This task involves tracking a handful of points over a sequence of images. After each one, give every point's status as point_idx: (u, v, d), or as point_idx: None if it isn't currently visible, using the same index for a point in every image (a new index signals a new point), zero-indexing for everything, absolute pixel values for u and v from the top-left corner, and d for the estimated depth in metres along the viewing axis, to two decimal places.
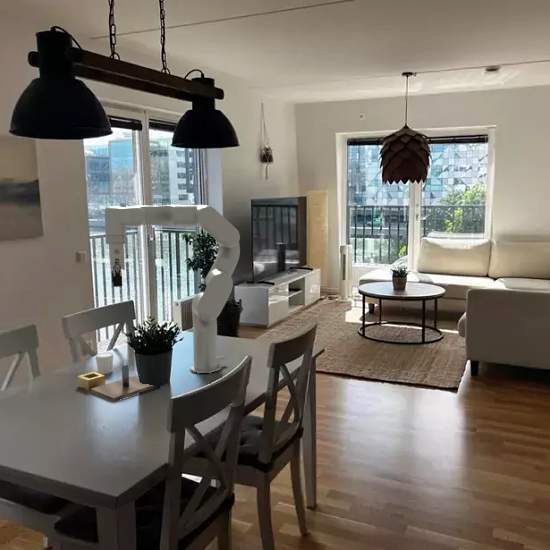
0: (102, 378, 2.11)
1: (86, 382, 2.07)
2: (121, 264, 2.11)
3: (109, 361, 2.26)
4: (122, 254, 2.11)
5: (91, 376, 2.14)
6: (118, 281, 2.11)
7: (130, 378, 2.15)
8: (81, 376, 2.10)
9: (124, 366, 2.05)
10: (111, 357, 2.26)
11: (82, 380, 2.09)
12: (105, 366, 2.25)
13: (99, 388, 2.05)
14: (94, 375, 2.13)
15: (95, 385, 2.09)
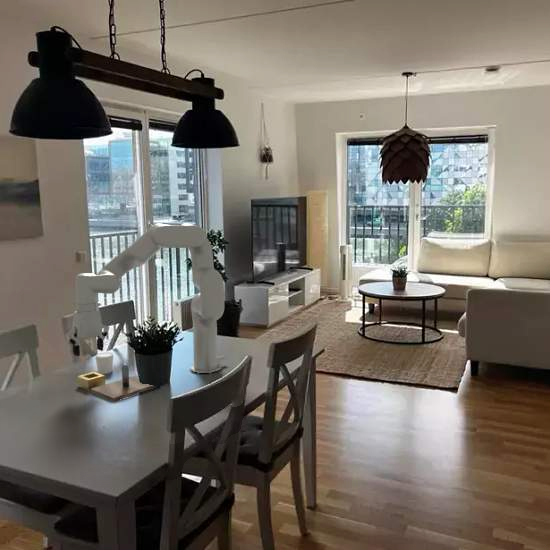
0: (102, 378, 2.11)
1: (86, 382, 2.07)
2: None
3: (109, 361, 2.26)
4: None
5: (91, 376, 2.14)
6: None
7: (130, 378, 2.15)
8: (81, 376, 2.10)
9: (124, 366, 2.05)
10: (111, 357, 2.26)
11: (82, 380, 2.09)
12: (105, 366, 2.25)
13: (99, 388, 2.05)
14: (94, 375, 2.13)
15: (95, 385, 2.09)
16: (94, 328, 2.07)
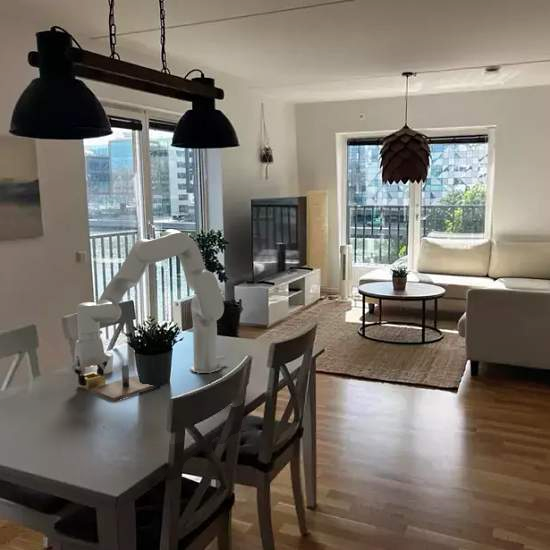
0: (102, 378, 2.11)
1: (86, 382, 2.07)
2: None
3: (109, 361, 2.26)
4: None
5: (91, 376, 2.14)
6: None
7: (130, 378, 2.15)
8: None
9: (124, 366, 2.05)
10: (111, 357, 2.26)
11: None
12: (105, 366, 2.25)
13: (99, 388, 2.05)
14: (94, 375, 2.14)
15: (95, 385, 2.09)
16: (96, 356, 2.09)
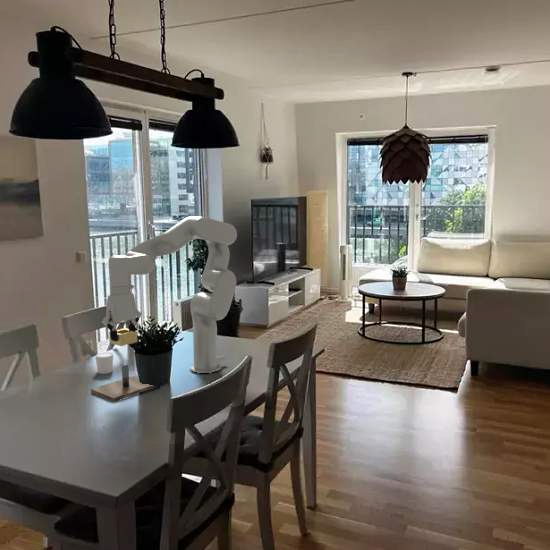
0: (134, 334, 2.04)
1: (118, 337, 2.01)
2: None
3: (109, 361, 2.26)
4: None
5: (122, 332, 2.07)
6: None
7: (130, 378, 2.15)
8: None
9: (124, 366, 2.05)
10: (111, 357, 2.26)
11: None
12: (105, 366, 2.25)
13: (99, 388, 2.05)
14: (126, 331, 2.07)
15: (127, 341, 2.02)
16: (128, 311, 2.03)
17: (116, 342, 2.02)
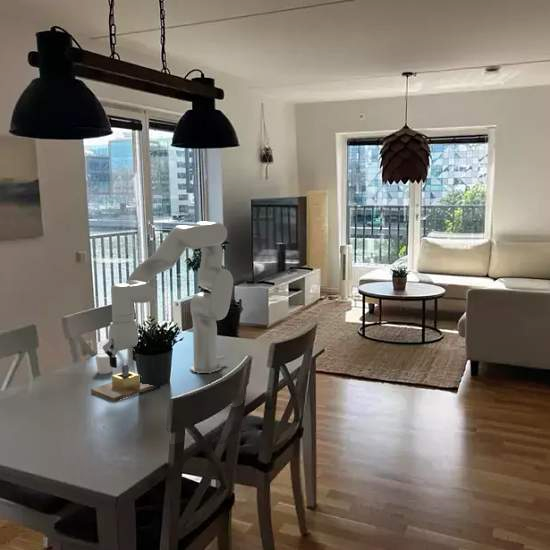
0: (137, 377, 2.07)
1: (121, 382, 2.03)
2: None
3: (109, 361, 2.26)
4: None
5: None
6: None
7: None
8: (115, 375, 2.06)
9: (124, 366, 2.05)
10: None
11: (117, 380, 2.05)
12: (105, 366, 2.25)
13: (99, 388, 2.05)
14: None
15: (130, 385, 2.05)
16: (130, 339, 2.04)
17: (119, 386, 2.04)
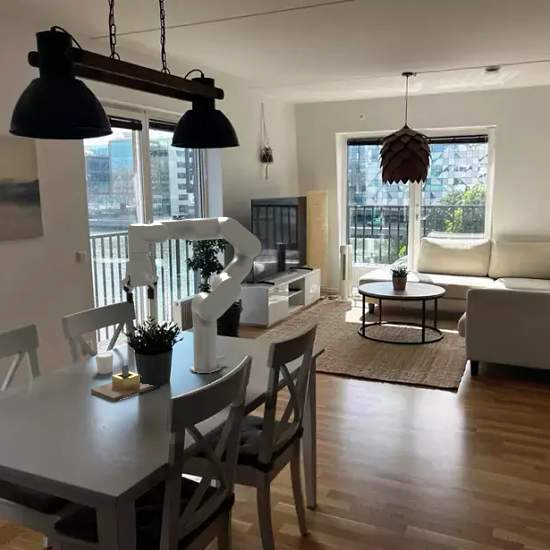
0: (137, 377, 2.07)
1: (121, 382, 2.03)
2: None
3: (109, 361, 2.26)
4: None
5: None
6: None
7: None
8: (115, 375, 2.06)
9: (124, 366, 2.05)
10: (111, 357, 2.26)
11: (117, 380, 2.05)
12: (105, 366, 2.25)
13: (99, 388, 2.05)
14: None
15: (130, 385, 2.05)
16: (146, 277, 2.15)
17: (119, 386, 2.04)
